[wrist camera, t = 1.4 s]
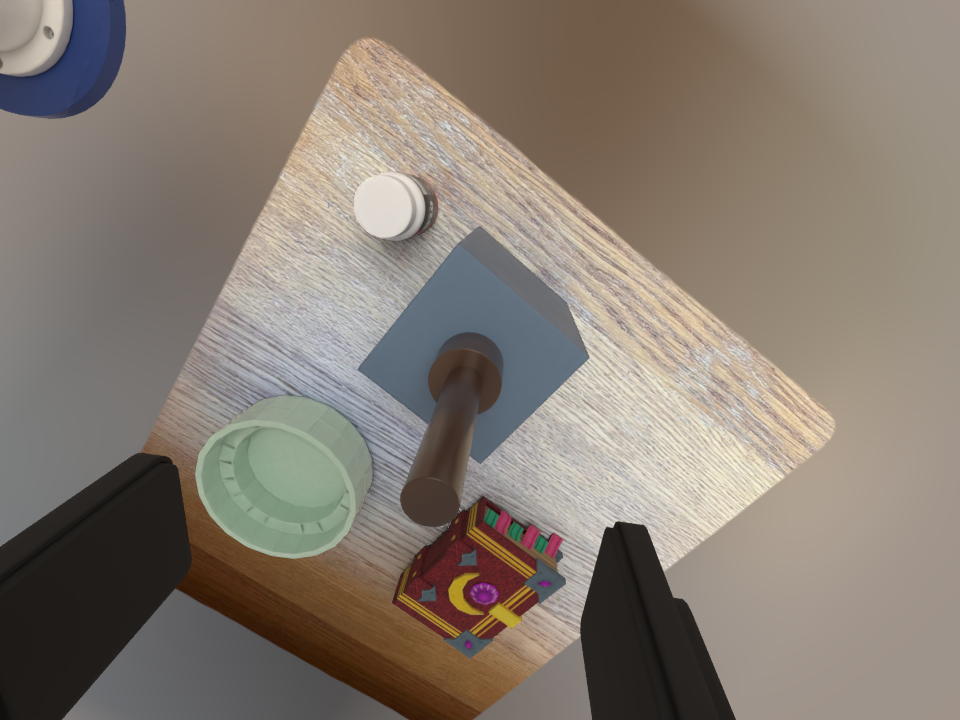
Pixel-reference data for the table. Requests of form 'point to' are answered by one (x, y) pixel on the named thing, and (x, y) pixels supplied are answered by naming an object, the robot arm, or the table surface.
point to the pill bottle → (395, 205)
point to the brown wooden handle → (451, 426)
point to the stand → (490, 312)
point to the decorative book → (479, 577)
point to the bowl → (285, 476)
